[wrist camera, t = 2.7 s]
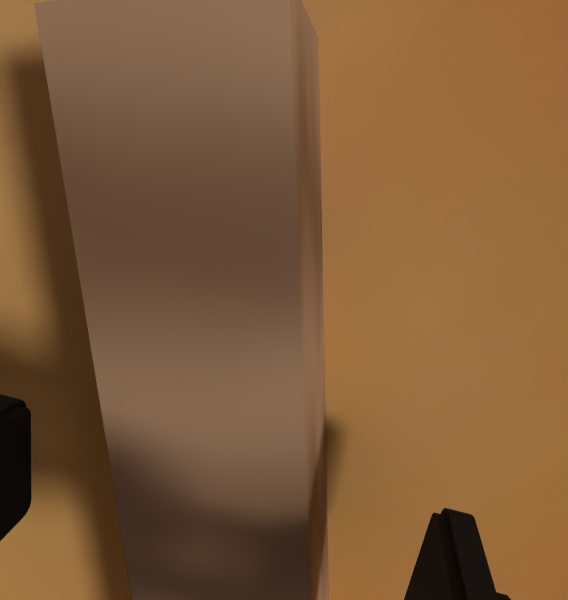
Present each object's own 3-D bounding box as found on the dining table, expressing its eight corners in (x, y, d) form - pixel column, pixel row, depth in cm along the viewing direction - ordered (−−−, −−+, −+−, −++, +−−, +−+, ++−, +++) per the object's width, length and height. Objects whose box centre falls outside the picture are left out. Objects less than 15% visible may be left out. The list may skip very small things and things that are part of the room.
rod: (331, 704, 16) (318, 874, 12) (217, 684, 16) (171, 839, 13) (319, 42, 10) (289, -28, 7) (150, 58, 11) (33, 3, 7)
